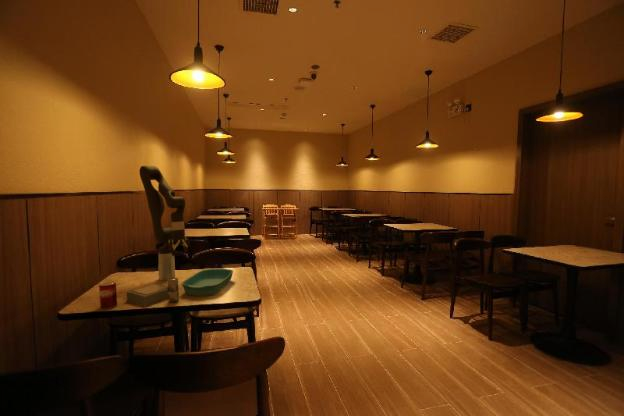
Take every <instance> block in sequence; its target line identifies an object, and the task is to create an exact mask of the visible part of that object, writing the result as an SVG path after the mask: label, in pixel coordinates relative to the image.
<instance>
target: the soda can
mask: <svg viewBox="0 0 624 416" xmlns="http://www.w3.org/2000/svg"><path fill="white" fill-rule="evenodd" d="M117 293H118V292H117V283H116V281H111V280H110V281H104V282H101V283H100V284H99V285H98V294H99V308H100V309H101V308H102V309H101V310H110V309H113V307H114V308H116V307H117V305H118V294H117ZM109 308H110V309H109Z"/></svg>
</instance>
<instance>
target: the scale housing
mask: <svg viewBox="0 0 624 416" xmlns="http://www.w3.org/2000/svg"><path fill="white" fill-rule="evenodd" d="M150 285H158V286H162V287H167V289H164V290H161V291H158V292H154V293H151V294H148V295H143V294H139V293H136V292H132V291H133V290H137V289H140V288H144V287H147V286H150ZM125 293H126V302H129V303H132V304H135V305H140V306H143V307H148V306H151V305H154V304H156V303H159V302H162V301H165V300H168V285H164V284H159V283H151V284H148V285H144V286H140V287H138V288H134V289H131V290H128V291H126V292H125Z"/></svg>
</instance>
